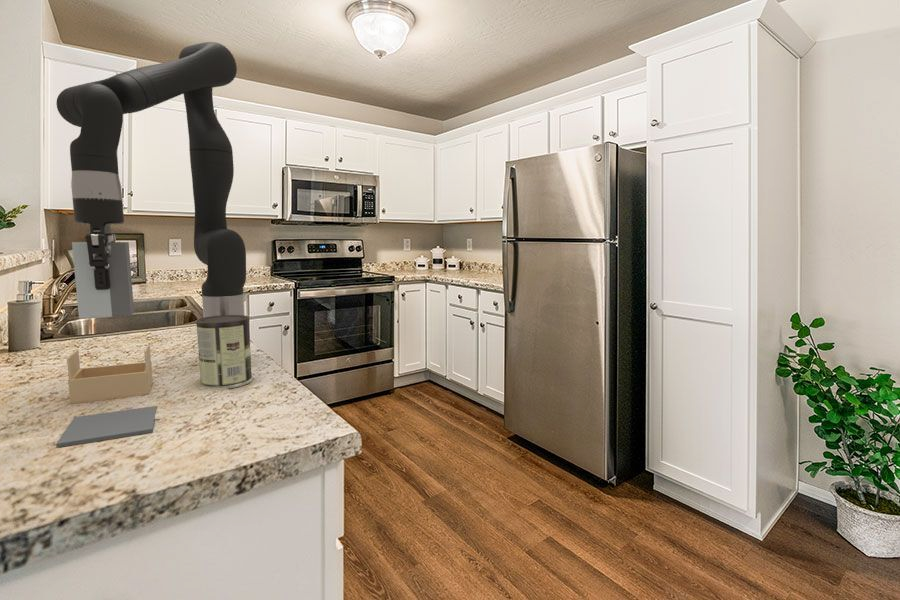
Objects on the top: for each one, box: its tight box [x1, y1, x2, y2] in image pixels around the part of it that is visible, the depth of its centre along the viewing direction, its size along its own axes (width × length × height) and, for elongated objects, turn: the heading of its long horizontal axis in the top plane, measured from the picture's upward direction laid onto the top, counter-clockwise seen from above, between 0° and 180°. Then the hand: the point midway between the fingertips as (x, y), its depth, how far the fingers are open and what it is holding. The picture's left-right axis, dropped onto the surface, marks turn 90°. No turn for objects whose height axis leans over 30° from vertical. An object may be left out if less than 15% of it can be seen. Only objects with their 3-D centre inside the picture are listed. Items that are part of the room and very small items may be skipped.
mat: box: [55, 405, 158, 448], centre depth 77 cm, size 12×12×1 cm
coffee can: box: [195, 314, 253, 389], centre depth 101 cm, size 10×10×14 cm
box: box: [71, 241, 135, 320], centre depth 90 cm, size 8×5×14 cm, turn 118°
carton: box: [66, 343, 154, 405], centre depth 92 cm, size 12×9×9 cm
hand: (105, 287), depth 90 cm, fingers closed on box, 5 cm apart
